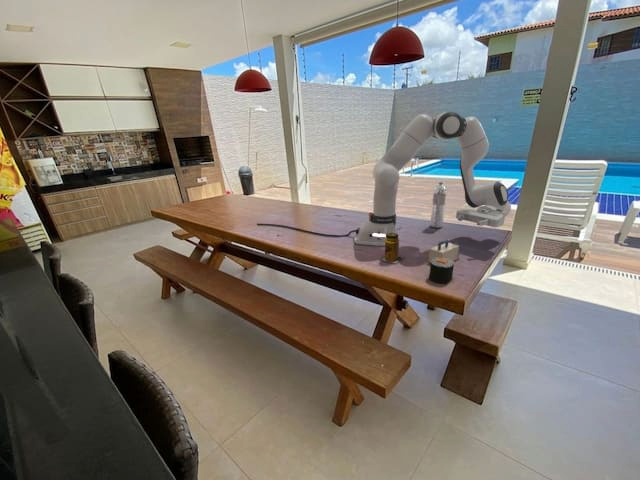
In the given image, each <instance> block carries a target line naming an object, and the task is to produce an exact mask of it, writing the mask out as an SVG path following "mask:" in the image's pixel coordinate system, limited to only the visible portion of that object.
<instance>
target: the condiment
mask: <svg viewBox="0 0 640 480" xmlns="http://www.w3.org/2000/svg"><path fill="white" fill-rule="evenodd" d="M399 249H400V240H399V234H398V233H397V232H396V233H388V234H386V240H385V246H384V257H383V258H381V260H380V261H384V262H388V263H392V264H397V263H398V262H400V261H401V260H403V258H404V256H402V255H399V252H400V251H399Z"/></svg>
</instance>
